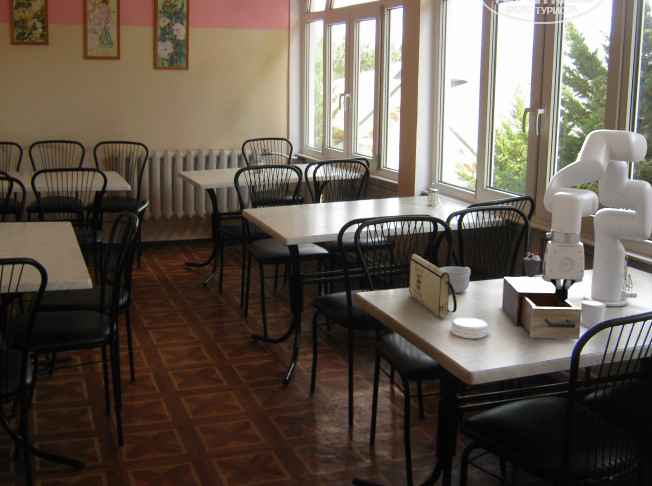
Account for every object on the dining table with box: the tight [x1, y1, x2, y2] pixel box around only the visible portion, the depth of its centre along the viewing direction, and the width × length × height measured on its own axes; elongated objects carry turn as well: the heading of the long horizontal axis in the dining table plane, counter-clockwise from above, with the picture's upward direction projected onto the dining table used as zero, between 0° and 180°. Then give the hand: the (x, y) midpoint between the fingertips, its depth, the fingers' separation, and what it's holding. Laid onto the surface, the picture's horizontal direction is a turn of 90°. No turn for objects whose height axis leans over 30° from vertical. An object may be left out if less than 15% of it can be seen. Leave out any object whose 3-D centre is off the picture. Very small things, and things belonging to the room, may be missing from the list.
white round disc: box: [451, 316, 488, 340], centre depth 214 cm, size 10×10×4 cm
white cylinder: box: [580, 299, 607, 329], centre depth 223 cm, size 7×7×7 cm
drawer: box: [519, 295, 582, 340], centre depth 213 cm, size 22×13×9 cm, turn 178°
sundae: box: [521, 245, 543, 278], centre depth 266 cm, size 7×7×15 cm
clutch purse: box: [408, 253, 458, 320], centre depth 239 cm, size 30×7×15 cm, turn 12°
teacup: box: [439, 266, 472, 294], centre depth 259 cm, size 14×11×8 cm
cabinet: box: [501, 276, 569, 327], centre depth 229 cm, size 18×15×11 cm
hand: (560, 301), depth 205 cm, fingers closed
